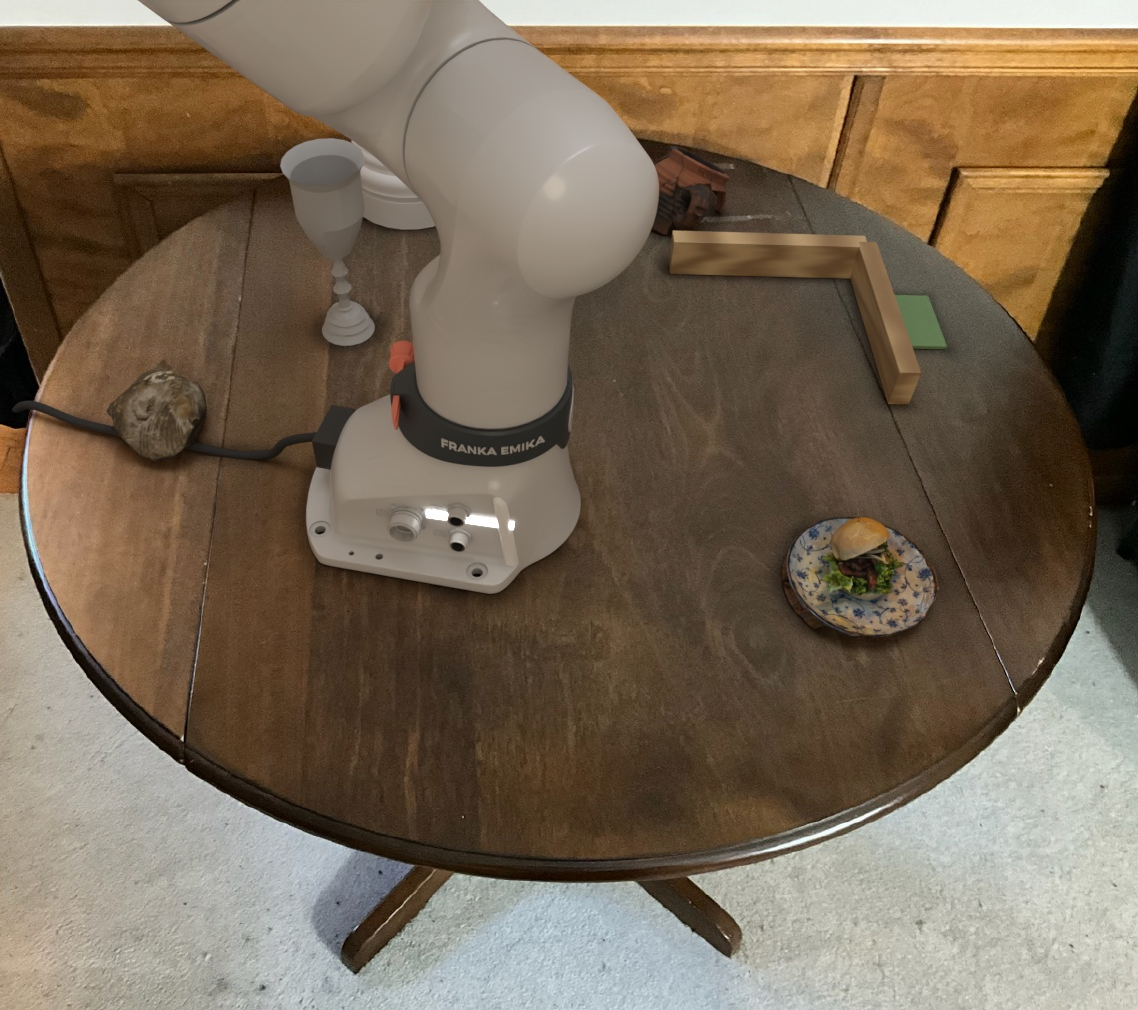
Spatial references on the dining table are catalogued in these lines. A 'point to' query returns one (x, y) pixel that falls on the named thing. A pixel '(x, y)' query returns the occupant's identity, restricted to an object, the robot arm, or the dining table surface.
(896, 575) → the burger
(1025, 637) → the dining table surface
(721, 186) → the pottery mug
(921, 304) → the green flat rectangular block
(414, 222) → the honey pot
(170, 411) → the fossilized seashell
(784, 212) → the dining table surface
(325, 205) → the chalice
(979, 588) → the dining table surface
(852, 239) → the corner fence
